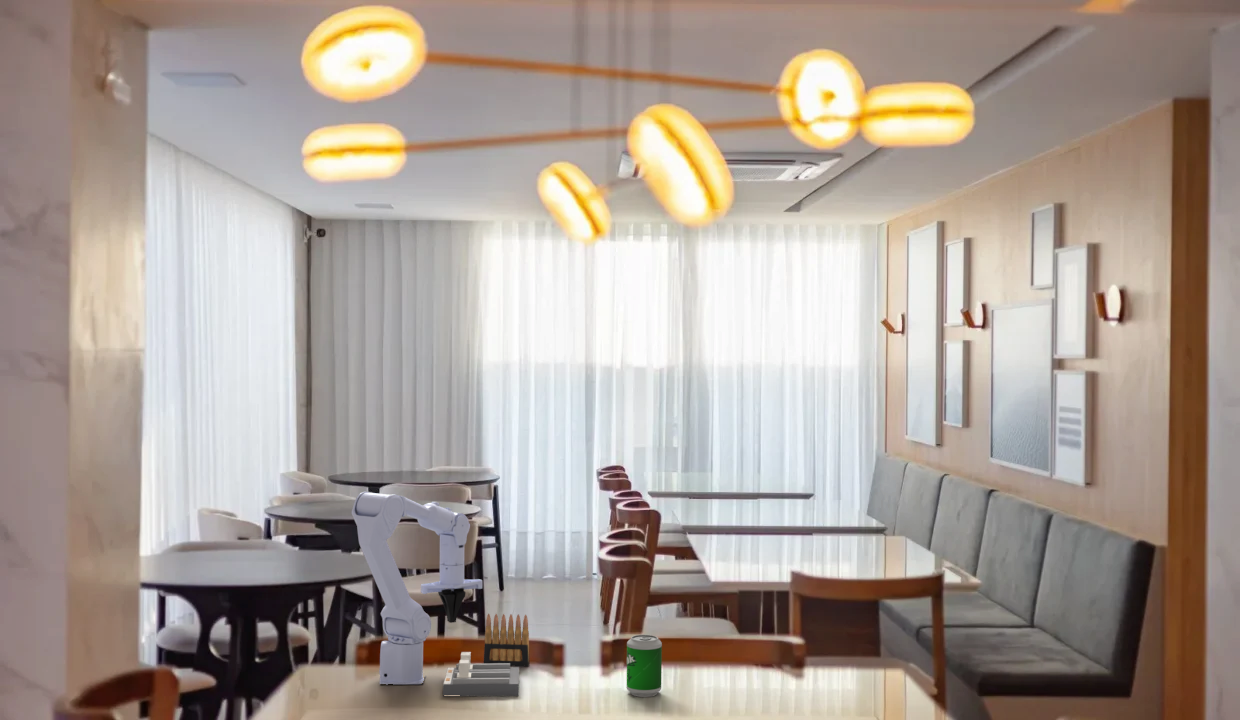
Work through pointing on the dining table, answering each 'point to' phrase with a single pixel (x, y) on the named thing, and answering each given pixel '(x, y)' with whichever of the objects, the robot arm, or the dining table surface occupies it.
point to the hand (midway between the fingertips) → (451, 621)
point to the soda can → (644, 665)
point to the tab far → (467, 658)
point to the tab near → (464, 669)
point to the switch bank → (483, 681)
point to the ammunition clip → (507, 642)
